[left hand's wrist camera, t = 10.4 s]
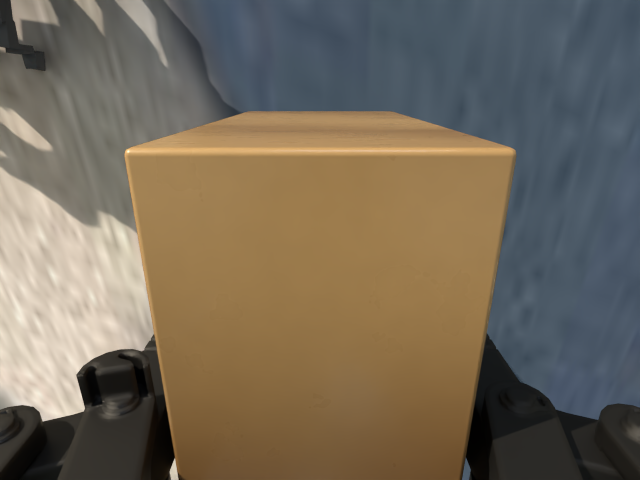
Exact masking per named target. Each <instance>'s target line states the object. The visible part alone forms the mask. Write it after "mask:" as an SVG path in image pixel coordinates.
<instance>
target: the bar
mask: <svg viewBox="0 0 640 480" xmlns="http://www.w3.org/2000/svg"><path fill="white" fill-rule="evenodd" d="M125 162H126V168H127V174H128V180H129V186H130V192H131V198H132V204H133V210H134V216H135V222H136V228H137V234H138V240H139V246H140V252H141V258H142V264H143V269H144V275H145V281H146V287H147V293H148V299H149V305H150V311H151V317H152V323H153V329H154V335H155V341H156V347H157V353H158V359H159V365H160V371H161V377H162V383H163V389H164V395H165V401H166V406H167V412H168V418H169V424H170V430H171V436H172V442H173V448H174V454H175V460H176V466H177V472H178V478H179V480H462V476H463V470H464V464H465V458H466V452H467V446H468V440H469V434H470V428H471V422H472V416H473V410H474V404H475V399H476V393H477V387H478V381H479V375H480V369H481V363H482V357H483V351H484V345H485V339H486V333H487V327H488V321H489V316H490V310H491V304H492V298H493V292H494V286H495V280H496V274H497V268H498V262H499V256H500V250H501V244H502V239H503V233H504V227H505V221H506V215H507V209H508V203H509V197H510V191H511V185H512V179H513V173H514V167H515V162H516V151H515V149H512V148H510V147H507V146H504V145H501V144H497V143H494V142H491V141H487V140H484V139H481V138H478V137H474V136H471V135H468V134H464V133H461V132H458V131H454V130H451V129H448V128H444V127H441V126H438V125H435V124H431V123H428V122H425V121H421V120H418V119H415V118H411V117H408V116H405V115H401V114H398V113H395V112H392V111H249V112H245V113H242V114H239V115H235V116H232V117H229V118H226V119H222V120H219V121H216V122H212V123H209V124H206V125H203V126H199V127H196V128H193V129H189V130H186V131H183V132H180V133H176V134H173V135H170V136H166V137H163V138H160V139H157V140H153V141H150V142H147V143H143V144H140V145H137V146H134V147H131V148H128V149H126V151H125Z"/></svg>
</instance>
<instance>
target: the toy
mask: <svg viewBox="0 0 640 480" xmlns="http://www.w3.org/2000/svg"><path fill="white" fill-rule="evenodd" d="M0 47H6V53H14V54H22V56H23V60H24V64H25V66H26V69H36V70H43V71H45V63H44V52H38V51H34V48H33V46H29V45H22V44H19V42H18V37H17V31H16V26H15V22H14V21H13V17H12V9H11V1H10V0H0Z"/></svg>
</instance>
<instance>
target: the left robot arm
mask: <svg viewBox="0 0 640 480" xmlns="http://www.w3.org/2000/svg"><path fill="white" fill-rule="evenodd" d="M77 379H78V383H79V387H80V390H81V394H82V398H83V402H84V405H85V410H84V412H81V413H77V414H74V415H70V416H66V417H61V418H57V419H53V420H48V421H44V422H42V419H41V415H40V412H39V411H37V410H36V409H35V408H34V407H30V406H24V405H21V406H13V407H7V408H4V409H1V410H0V480H171V477H170V472H169V471H170V469H171V466H172V463H173V461H174V458H175V454H174V448H173V442H172V436H171V430H170V424H169V418H168V412H167V406H166V401H165V395H164V389H163V383H162V377H161V371H160V365H159V359H158V353H157V347H156V341H155V335H153V336H152V338H151V341H149V342H148V344H147V345H146V347H145V350H144V351H138V350H134V349H122V350H116V351H112V352H108V353H105V354H103V355H101V356H98V357H96V358H94V359H92V360H91V361H90V362H88V363H87V364H85V365H84V366H83V367H82V368H81V370H80V371H79V372H78V373H77ZM466 458H467V461H468V463H469V466H470V468H471V472H470V477H469V480H640V408H639V407H636V406H633V405H625V404H613V405H607V406H606V407H605V408H604V409H603V410H602V411H601V413H600V416H599V420H595V419H591V418H586V417H582V416H578V415H573V414H569V413H565V412H562V411H559V410H555V407H554V406H553V404H552V403H551V401H550V400H549V399H548V398H547V397H546V396H545V395H544V394H542V393H541V392H540V391H539V390H537V389H535V388H533V387H531V386H529V385H527V384H524V383H520V382H519V380H518V379H517V378H516V376H515V375H514V373H513V372H512V370H511V369H510V367H509V366H508V364H507V363H506V361H505V360H504V358H503V357H502V355H501V354H500V352H499V351H498V349H496V346H495V345H494V343H493V342H492V340H490V339H489V336H488V334H487V333H486V339H485V345H484V351H483V357H482V363H481V369H480V375H479V381H478V387H477V393H476V399H475V404H474V410H473V416H472V422H471V428H470V434H469V440H468V446H467V452H466Z"/></svg>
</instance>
